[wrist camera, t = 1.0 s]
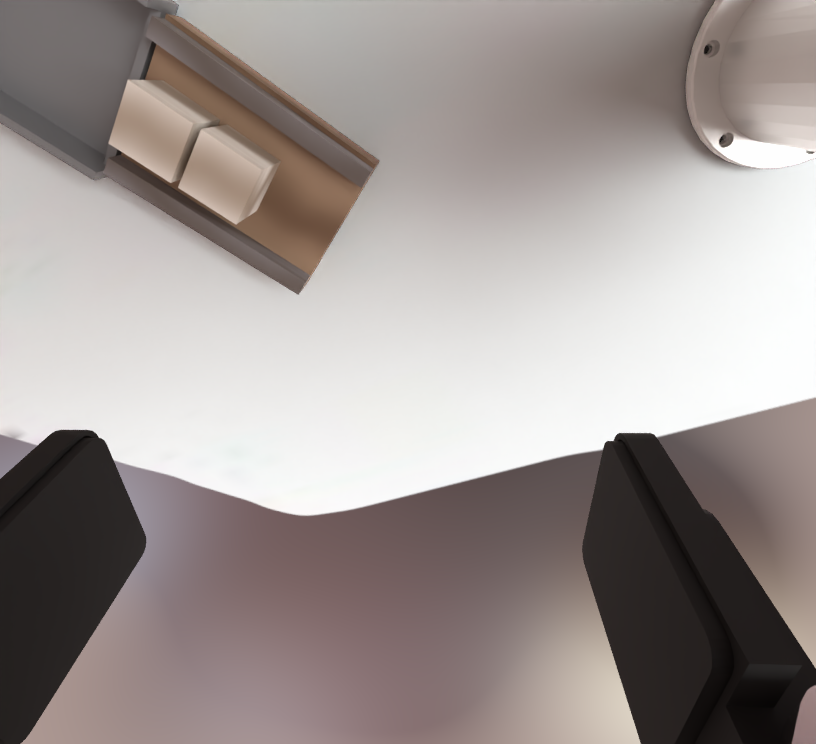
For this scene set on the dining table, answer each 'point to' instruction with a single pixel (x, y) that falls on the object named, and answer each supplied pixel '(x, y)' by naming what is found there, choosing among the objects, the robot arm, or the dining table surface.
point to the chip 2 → (228, 172)
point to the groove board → (272, 131)
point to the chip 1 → (159, 127)
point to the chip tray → (72, 71)
